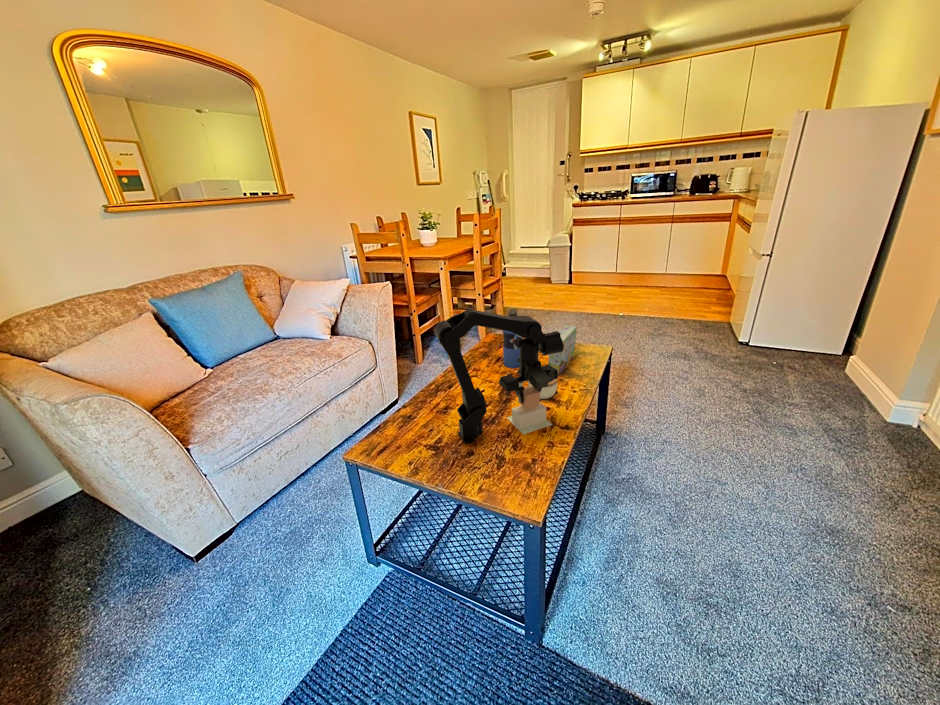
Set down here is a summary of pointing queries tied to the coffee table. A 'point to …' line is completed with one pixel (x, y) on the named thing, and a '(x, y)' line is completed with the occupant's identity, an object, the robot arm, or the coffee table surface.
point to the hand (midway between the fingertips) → (528, 401)
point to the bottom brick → (528, 416)
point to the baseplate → (532, 427)
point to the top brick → (530, 397)
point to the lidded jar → (547, 389)
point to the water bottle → (511, 346)
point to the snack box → (568, 353)
